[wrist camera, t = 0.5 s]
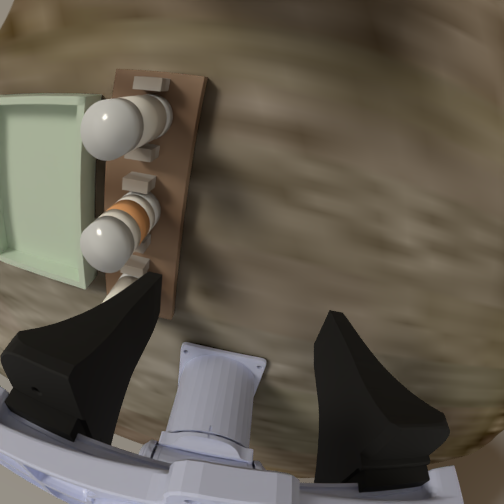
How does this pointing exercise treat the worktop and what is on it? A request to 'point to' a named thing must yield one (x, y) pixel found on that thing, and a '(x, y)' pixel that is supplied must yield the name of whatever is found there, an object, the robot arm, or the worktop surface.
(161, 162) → the fuse holder
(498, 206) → the worktop surface
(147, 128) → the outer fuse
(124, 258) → the marked fuse
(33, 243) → the tray
